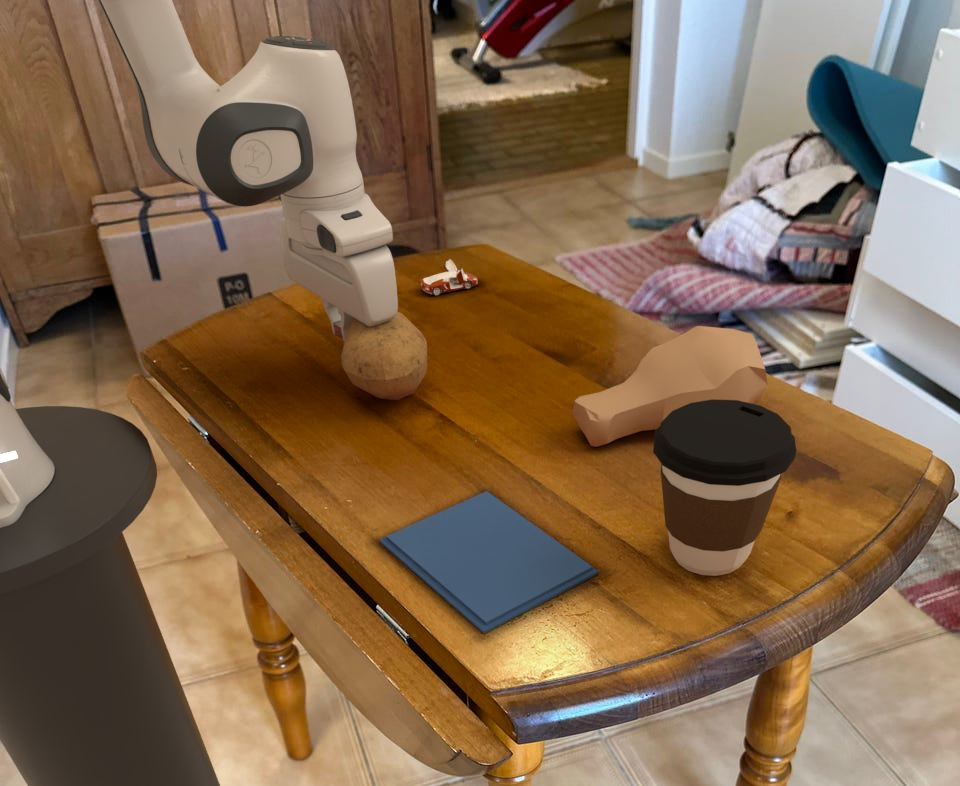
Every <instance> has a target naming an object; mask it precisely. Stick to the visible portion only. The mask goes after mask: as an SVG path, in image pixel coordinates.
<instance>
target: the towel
mask: <svg viewBox="0 0 960 786" xmlns="http://www.w3.org/2000/svg"><path fill="white" fill-rule="evenodd" d="M378 541H379V544H380V545H382V546H383V547H384V548H385V549H387V551H389V552H390V553H391V554H392V555H393V556H395V558H397V559H398V560H399V561H400V562H401V563H402V564H403V565H405V567H407V569H409V570H410V571H411V572H412V573H414V574H415V575H416V576H417V577H418V578H419V579H420V580H421V581H422V582H424V583H425V584H426V585H427V586H428V587H430V588H431V589H432V590H433V591H434V592H435V593H436V594H438V595H439V596H440V597H441V598H442V599H443V600H444V601H445V602H446V603H448V604H449V605H450V606H451V607H452V608H453V609H455V610H456V611H457V613H459V614H460V615H462V617H464V618H465V619H466V620H467V621H469V622H470V624H472V625H473V626H474V627H475V628H476V629H477V630H479V632H481V633H482V634H483V635H485V634H487V633H489V632H490V631H492V630H495V629H496V628H498V627H500V626H502V625H504V624H506V623H508V622H510V621H512V620H513V619H515V618H517V617H519V616H521V615H523V614H525V613H527V612H529V611H531V610H532V609H534V608H536V607H538V606H540V605H542V604H544V603H545V602H548V601H549V600H552V599H553V598H555V597H557V596H559V595H562V594H563V593H565V592H566V591H569V590H570V589H572V588H574V587H576V586H578V585H580V584H582V583H583V582H585V581H587V580H589V579H592V578H593V577H595V576H597V575H598V574H599V570H598V569H596V568H595V567H593V566H592V565H591V564H590V563H589V562H587V561H586V560H584V559H582V558H581V557H580V556H579V555H577V554H576V553H574V552H573V551H572V550H570V549H568V548H567V547H566V546H564V545H563V544H562V543H560V542H559V541H558V540H556V539H554V538H553V537H552V536H551V535H549V534H548V533H546V532H545V531H544V530H542V529H541V528H540V527H538V526H537V525H535V524H534V523H532V522H530V521H529V520H528V519H526V518H525V517H524V516H522V515H521V514H520V513H518V512H517V511H515V510H514V509H513V508H511V507H510V506H509V505H507V504H505V503H504V502H503V501H501V500H500V499H499V498H498V497H496V496H494V495H493V494H492V493H491V492H489V491H488V490H485V491H483V492H481V493H479V494H477V495H475V496H472V497H470V498H468V499H466V500H465V499H464V500H463V501H461V502H459V503H457V504H455V505H452V506H449V507H448V508H446V509H443V510H442V511H439V512H437V513H435V514H433V515H430V516H427V517H425V518H423V519H422V520H419V521H417V522H413V523H412V524H410V525H408V526H406V527H403V528H401V529H399V530H397V531H395V532H392V533H390V534H388V535H386V536H385V537H383V538H380V539H379V540H378Z"/></svg>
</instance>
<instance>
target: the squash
mask: <svg viewBox="0 0 960 786" xmlns="http://www.w3.org/2000/svg"><path fill="white" fill-rule="evenodd" d="M767 387H768V378H767V371H766V367H765V365H764V361H763V358H762V356H761V352H760V349H759V346H758V343H757V340H756V338H755V336H754V334H752V333H749V332H746V331H743V330H738V329H735V328H726V327H725V328H724V327H717V326H715V327H714V326H705V325H704V326H702V325H696V326H695V327H693V328H691V329H689V330H687V331H686V332H685V333H682V334H681V335H679V336H676V338H673V339H671V340H668V341H665V342H663V343H661V344H659V345H656V346H654V347H652V348H651V349H650V350H649V351H648V352H647V353H646V354H645V356H644V357H643V358H642V359H641V360H640V362H639V364H638V365H637V368H636V370H635V371H634V372H633V373H632V374H631V375H630V376H629V377H628V378H627V379H626V380H625V381H624V382H622V383H619V384H617V385H613V386H611V387H610V388H607V389H604V390H601V391H599V392H594V393H589V394H585V395H579V396H578V397H577V398H576V399H575V400H574V401H573V409H572V416H573V419H574V420H575V421H576V423H577V425H578V427H579V429H580V431H582V433H583V434H584V436H585V438H586V439H587V441H588V444H589V445H590V447H594V448H595V447H596V448H597V447H600V446H604V445H607V444H610V443H611V442H613V441H616V440H617V439H620V438H623V437H627V436H630V435H632V434H636V433H638V432H641V431H653V430H654V431H656V430H657V429H658V428H659V427H660V425H661V422H662V421H663V420H664V419H665V418H666V417H667V416H668V415H669V414H670V413H671V412H672V411H673V410H676V409H678V408H680V407H682V406H685V405H687V404H689V403H694V402H700V401H706V400H712V399H716V400H738V401H743V402H747V403H752V404H757V402H758V401H759V399H760V398H761V396H762V395H763V393H764V392H765V391H766V389H767Z"/></svg>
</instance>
